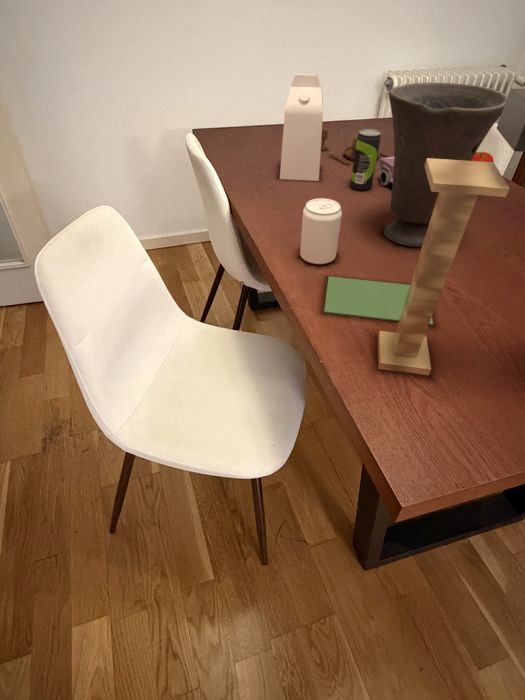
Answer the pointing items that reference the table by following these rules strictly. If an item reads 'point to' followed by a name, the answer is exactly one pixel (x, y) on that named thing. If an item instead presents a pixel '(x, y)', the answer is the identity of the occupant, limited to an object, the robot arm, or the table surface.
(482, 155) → the apple
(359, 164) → the beverage can
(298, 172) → the milk
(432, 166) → the stand
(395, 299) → the felt mat
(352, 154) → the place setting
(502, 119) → the mallet
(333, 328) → the table surface
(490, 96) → the vase
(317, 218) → the beverage can
